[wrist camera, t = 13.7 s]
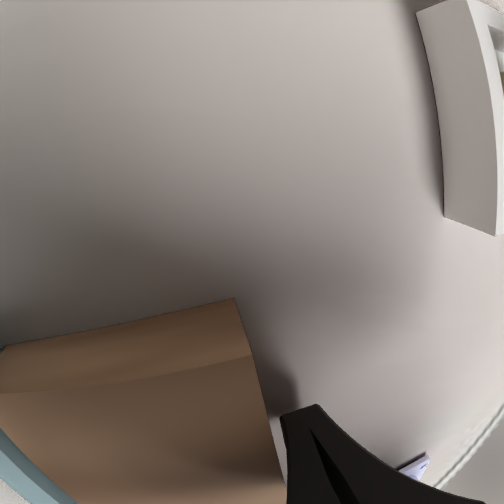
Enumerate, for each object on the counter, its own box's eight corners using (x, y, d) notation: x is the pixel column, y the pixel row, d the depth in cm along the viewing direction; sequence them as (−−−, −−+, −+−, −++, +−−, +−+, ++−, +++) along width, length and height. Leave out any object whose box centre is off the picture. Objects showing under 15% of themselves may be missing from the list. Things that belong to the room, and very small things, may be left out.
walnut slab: (276, 465, 12) (293, 514, 10) (125, 488, 11) (123, 535, 9) (231, 291, 9) (252, 354, 6) (10, 339, 8) (-26, 393, 5)
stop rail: (144, 516, 12) (146, 557, 9) (115, 516, 12) (114, 555, 9) (-55, 211, 6) (-116, 239, 3) (-83, 229, 6) (-136, 258, 3)
